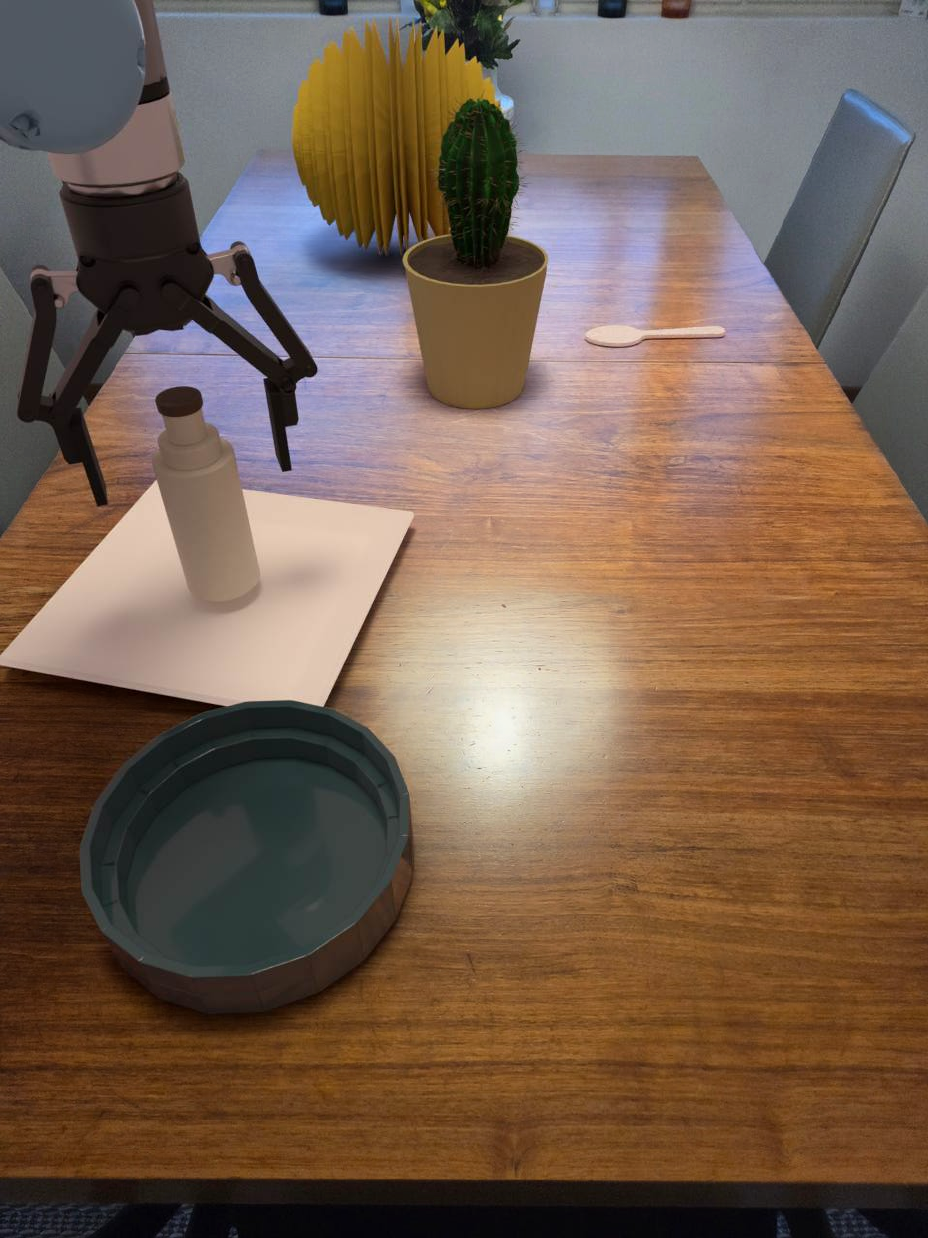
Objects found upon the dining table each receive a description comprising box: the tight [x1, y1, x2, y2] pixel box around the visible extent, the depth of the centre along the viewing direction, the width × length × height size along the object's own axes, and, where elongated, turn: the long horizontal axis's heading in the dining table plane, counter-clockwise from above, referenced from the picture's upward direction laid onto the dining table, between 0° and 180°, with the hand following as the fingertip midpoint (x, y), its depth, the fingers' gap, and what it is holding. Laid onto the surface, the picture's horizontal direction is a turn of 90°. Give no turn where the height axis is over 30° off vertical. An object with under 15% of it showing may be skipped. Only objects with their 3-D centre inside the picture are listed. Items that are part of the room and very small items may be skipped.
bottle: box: [151, 385, 260, 602], centre depth 68 cm, size 6×6×17 cm
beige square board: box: [0, 479, 415, 707], centre depth 74 cm, size 26×26×2 cm
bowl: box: [79, 700, 414, 1015], centre depth 54 cm, size 19×19×5 cm
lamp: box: [291, 15, 503, 259], centre depth 124 cm, size 30×30×30 cm
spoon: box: [584, 324, 726, 348], centre depth 111 cm, size 5×18×1 cm, turn 94°
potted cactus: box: [402, 89, 549, 410], centre depth 92 cm, size 15×15×30 cm
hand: (195, 479), depth 67 cm, fingers open, 13 cm apart
